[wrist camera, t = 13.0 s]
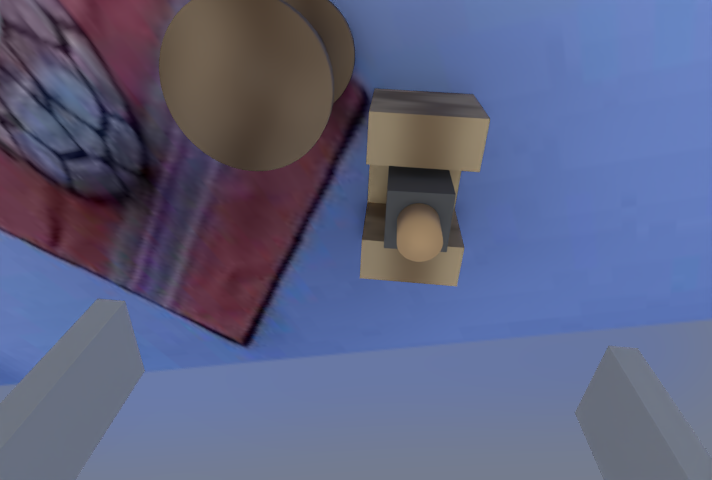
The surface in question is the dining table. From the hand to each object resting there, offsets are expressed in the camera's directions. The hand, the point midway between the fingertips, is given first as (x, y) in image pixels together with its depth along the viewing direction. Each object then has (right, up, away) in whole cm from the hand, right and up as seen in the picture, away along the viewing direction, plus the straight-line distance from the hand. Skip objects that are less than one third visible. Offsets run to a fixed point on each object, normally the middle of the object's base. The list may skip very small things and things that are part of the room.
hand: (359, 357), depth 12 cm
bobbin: (-4, +16, +18) cm, 25 cm away
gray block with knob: (+4, +8, +21) cm, 23 cm away
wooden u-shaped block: (+4, +9, +21) cm, 24 cm away
